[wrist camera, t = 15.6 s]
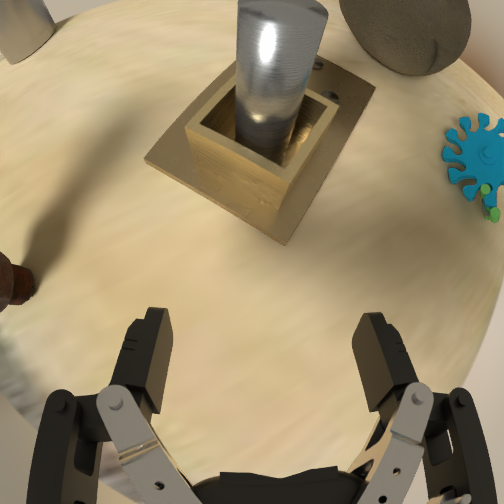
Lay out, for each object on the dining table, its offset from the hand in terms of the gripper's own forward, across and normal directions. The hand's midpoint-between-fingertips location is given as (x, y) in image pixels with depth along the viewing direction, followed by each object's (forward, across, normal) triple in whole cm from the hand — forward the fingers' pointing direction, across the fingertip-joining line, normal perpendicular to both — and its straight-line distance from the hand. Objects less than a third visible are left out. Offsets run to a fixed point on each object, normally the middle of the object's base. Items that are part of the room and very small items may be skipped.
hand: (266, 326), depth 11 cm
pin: (+13, 0, -4) cm, 13 cm away
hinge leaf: (+16, -1, -6) cm, 17 cm away
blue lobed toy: (+14, -21, -4) cm, 26 cm away
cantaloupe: (+25, -14, -14) cm, 32 cm away
